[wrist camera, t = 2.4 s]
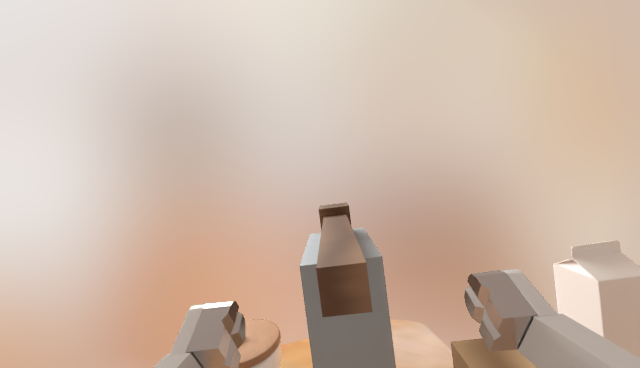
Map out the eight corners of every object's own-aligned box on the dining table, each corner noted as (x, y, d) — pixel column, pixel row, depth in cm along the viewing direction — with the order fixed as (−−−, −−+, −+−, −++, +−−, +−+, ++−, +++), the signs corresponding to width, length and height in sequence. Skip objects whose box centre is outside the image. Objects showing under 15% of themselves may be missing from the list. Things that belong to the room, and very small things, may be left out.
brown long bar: (314, 318, 16) (305, 252, 16) (323, 232, 40) (319, 205, 40) (380, 311, 16) (372, 244, 16) (350, 229, 40) (346, 202, 40)
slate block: (333, 521, 27) (299, 266, 26) (332, 403, 41) (310, 234, 40) (418, 514, 27) (386, 255, 26) (387, 398, 41) (366, 227, 40)
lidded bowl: (203, 439, 38) (192, 362, 38) (214, 377, 50) (205, 319, 50) (292, 408, 41) (282, 337, 41) (282, 357, 53) (274, 302, 53)
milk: (566, 401, 37) (548, 240, 36) (611, 395, 37) (593, 234, 36) (616, 445, 31) (594, 253, 30) (669, 438, 31) (648, 245, 30)
